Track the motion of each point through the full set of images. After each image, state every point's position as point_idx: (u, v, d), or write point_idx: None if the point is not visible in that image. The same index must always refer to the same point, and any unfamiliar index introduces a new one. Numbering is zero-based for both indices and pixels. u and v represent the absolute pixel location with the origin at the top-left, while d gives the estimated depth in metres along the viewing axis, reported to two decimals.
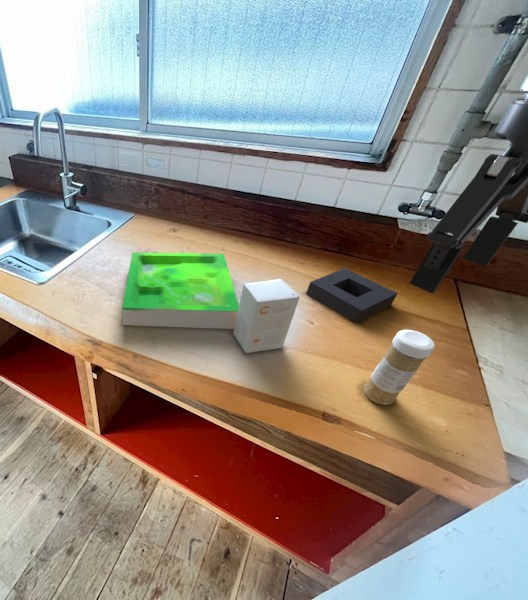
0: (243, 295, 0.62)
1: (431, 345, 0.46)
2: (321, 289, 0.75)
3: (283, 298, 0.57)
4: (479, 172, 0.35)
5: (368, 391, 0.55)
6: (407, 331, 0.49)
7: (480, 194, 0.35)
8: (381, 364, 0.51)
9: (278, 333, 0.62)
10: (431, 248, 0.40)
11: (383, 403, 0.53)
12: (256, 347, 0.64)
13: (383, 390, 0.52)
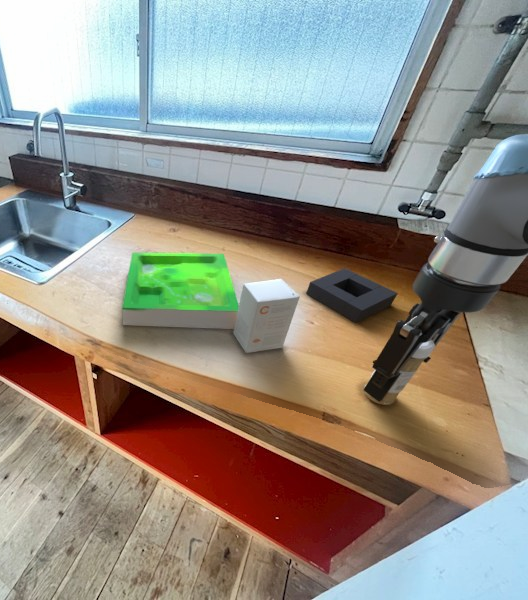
0: (243, 295, 0.62)
1: (431, 345, 0.46)
2: (321, 289, 0.75)
3: (283, 297, 0.57)
4: (394, 331, 0.44)
5: None
6: None
7: (398, 347, 0.44)
8: None
9: (278, 333, 0.62)
10: None
11: (383, 403, 0.53)
12: (256, 347, 0.64)
13: None
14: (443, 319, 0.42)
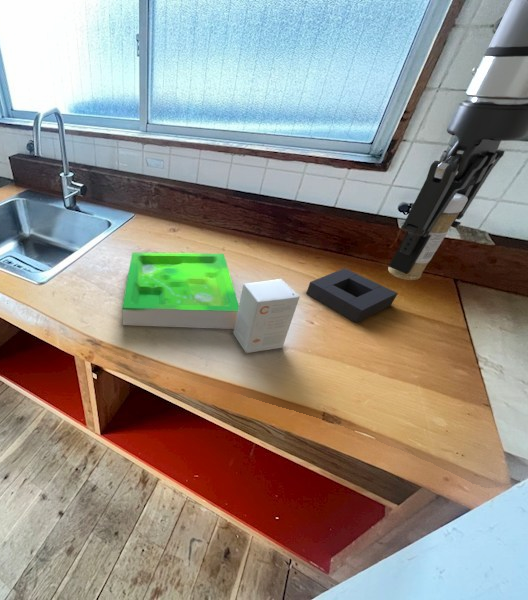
0: (243, 295, 0.62)
1: (464, 197, 0.45)
2: (321, 289, 0.75)
3: (283, 297, 0.57)
4: (428, 176, 0.42)
5: None
6: None
7: (432, 194, 0.43)
8: None
9: (278, 333, 0.62)
10: (405, 237, 0.49)
11: (409, 277, 0.52)
12: (256, 347, 0.64)
13: None
14: (480, 157, 0.41)
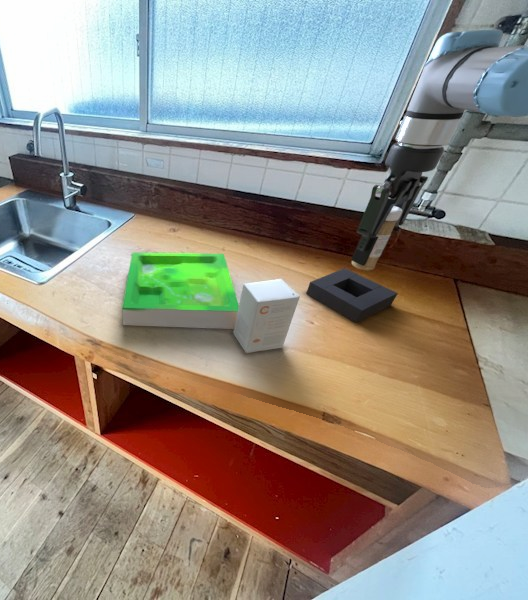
0: (243, 295, 0.62)
1: (399, 210, 0.62)
2: (321, 289, 0.75)
3: (283, 297, 0.57)
4: (371, 195, 0.60)
5: None
6: None
7: (375, 207, 0.61)
8: None
9: (278, 333, 0.62)
10: (361, 238, 0.67)
11: (366, 268, 0.70)
12: (256, 347, 0.64)
13: None
14: (406, 182, 0.59)
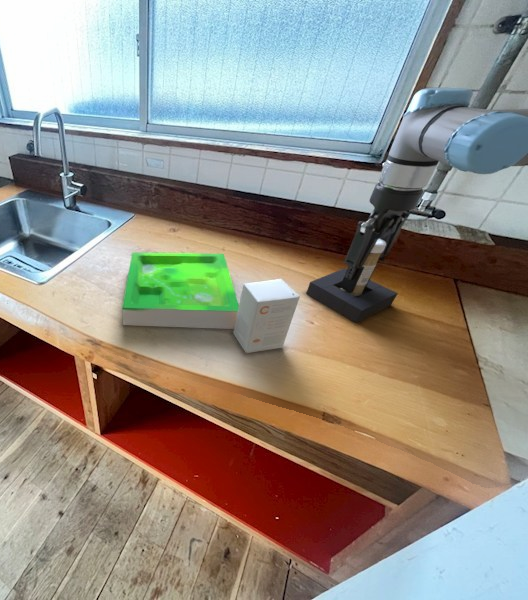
0: (243, 295, 0.62)
1: (383, 243, 0.67)
2: (321, 289, 0.75)
3: (283, 297, 0.57)
4: (357, 230, 0.64)
5: None
6: None
7: (360, 242, 0.65)
8: None
9: (278, 333, 0.62)
10: (348, 267, 0.71)
11: (353, 295, 0.74)
12: (256, 347, 0.64)
13: None
14: (389, 219, 0.63)
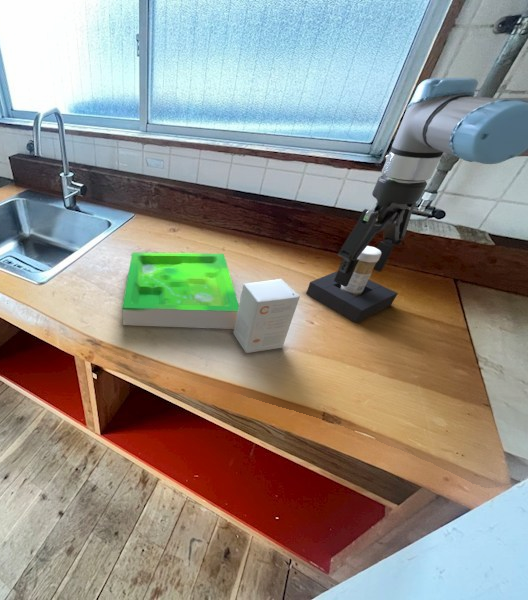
0: (243, 295, 0.62)
1: (378, 252, 0.68)
2: (321, 289, 0.75)
3: (283, 297, 0.57)
4: (360, 218, 0.63)
5: None
6: None
7: (360, 231, 0.63)
8: None
9: (278, 333, 0.62)
10: (343, 260, 0.69)
11: None
12: (256, 347, 0.64)
13: (349, 291, 0.74)
14: (392, 213, 0.62)
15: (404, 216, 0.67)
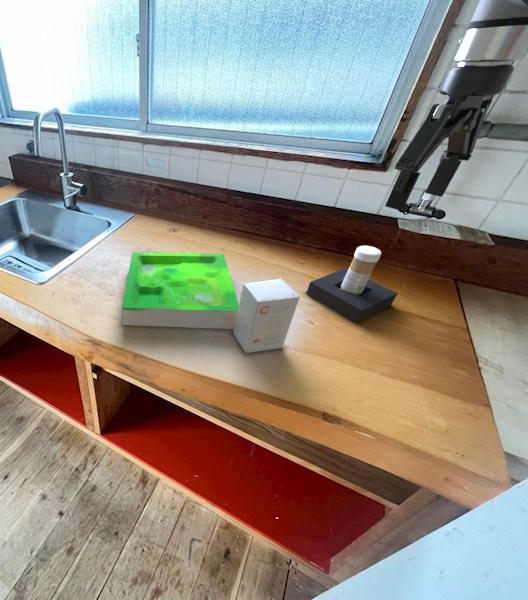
0: (243, 295, 0.62)
1: (378, 252, 0.68)
2: (321, 289, 0.75)
3: (283, 297, 0.57)
4: (428, 116, 0.51)
5: None
6: (364, 246, 0.70)
7: (428, 131, 0.51)
8: (347, 273, 0.73)
9: (278, 333, 0.62)
10: (399, 176, 0.57)
11: None
12: (256, 347, 0.64)
13: (349, 291, 0.74)
14: (466, 111, 0.51)
15: (475, 122, 0.56)
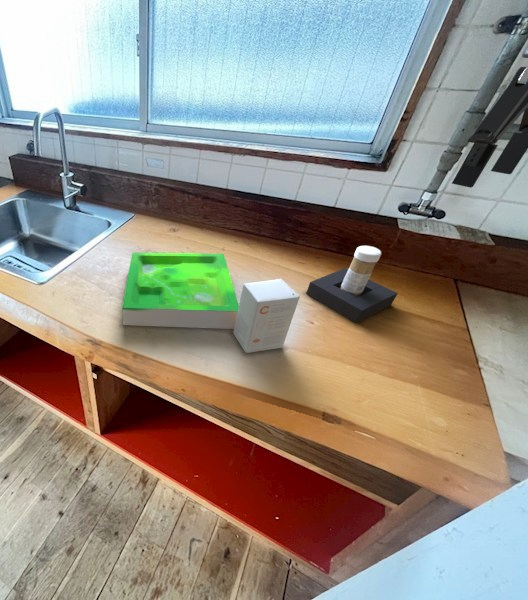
0: (243, 295, 0.62)
1: (378, 252, 0.68)
2: (321, 289, 0.75)
3: (283, 297, 0.57)
4: (512, 81, 0.47)
5: None
6: (364, 246, 0.70)
7: (512, 97, 0.47)
8: (347, 273, 0.73)
9: (278, 333, 0.62)
10: (471, 150, 0.52)
11: None
12: (256, 347, 0.64)
13: (349, 291, 0.74)
14: None
15: None
